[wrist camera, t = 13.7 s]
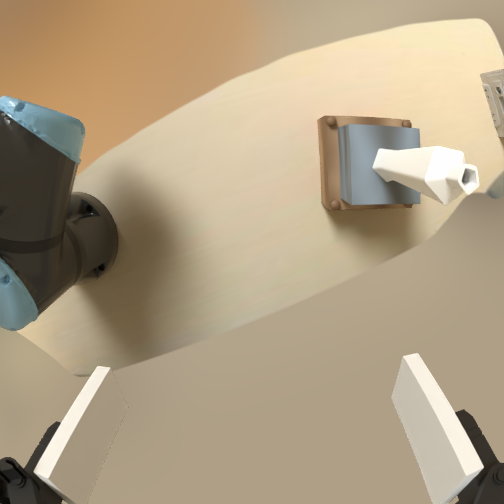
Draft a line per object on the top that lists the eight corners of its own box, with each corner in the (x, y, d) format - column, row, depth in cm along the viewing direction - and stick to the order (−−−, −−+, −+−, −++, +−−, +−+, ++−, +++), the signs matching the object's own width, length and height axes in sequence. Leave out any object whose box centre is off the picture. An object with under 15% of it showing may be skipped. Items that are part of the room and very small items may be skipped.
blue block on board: (321, 203, 42) (338, 218, 32) (317, 119, 38) (334, 110, 28) (396, 201, 41) (429, 215, 32) (394, 122, 37) (428, 117, 28)
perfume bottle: (368, 183, 31) (441, 210, 17) (370, 144, 29) (446, 144, 15) (404, 186, 31) (486, 215, 16) (406, 149, 29) (492, 156, 15)
